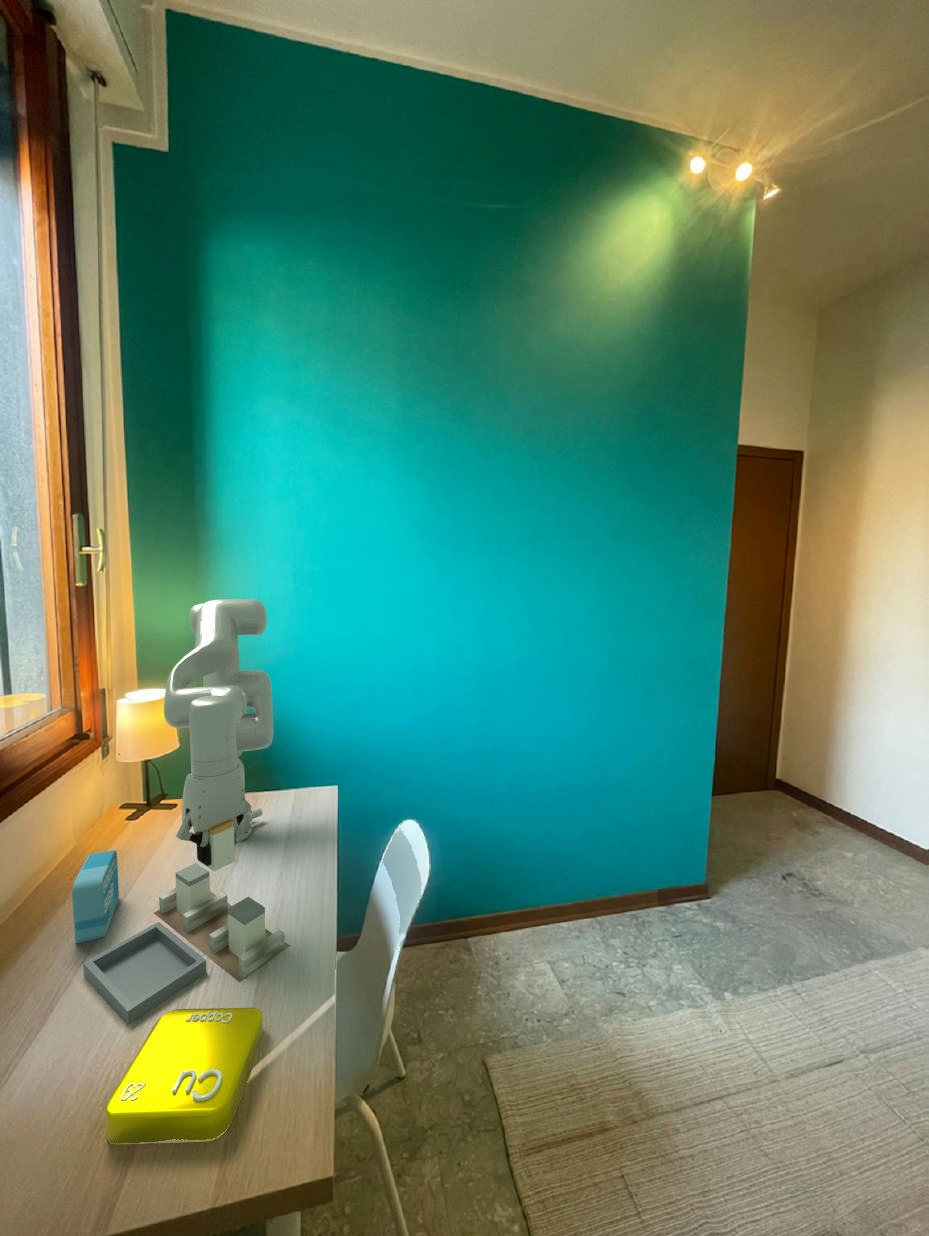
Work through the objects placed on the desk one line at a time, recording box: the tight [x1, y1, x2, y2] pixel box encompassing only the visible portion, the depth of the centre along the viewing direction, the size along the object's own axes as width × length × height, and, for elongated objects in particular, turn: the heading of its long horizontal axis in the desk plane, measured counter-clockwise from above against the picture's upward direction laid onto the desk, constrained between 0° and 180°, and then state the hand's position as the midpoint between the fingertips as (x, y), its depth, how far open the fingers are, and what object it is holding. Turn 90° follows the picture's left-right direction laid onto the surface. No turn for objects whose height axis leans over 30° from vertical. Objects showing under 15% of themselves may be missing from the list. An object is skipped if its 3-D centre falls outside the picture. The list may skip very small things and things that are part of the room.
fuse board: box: [153, 887, 291, 983], centre depth 96 cm, size 10×29×4 cm, turn 56°
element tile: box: [104, 1007, 263, 1144], centre depth 68 cm, size 15×15×5 cm
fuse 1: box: [175, 862, 211, 914], centre depth 100 cm, size 4×5×8 cm
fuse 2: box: [228, 896, 266, 957], centre depth 91 cm, size 4×5×8 cm
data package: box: [71, 849, 120, 944], centre depth 97 cm, size 12×4×12 cm, turn 23°
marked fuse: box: [200, 819, 236, 873], centre depth 94 cm, size 4×5×8 cm
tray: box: [82, 921, 207, 1025], centre depth 85 cm, size 12×16×3 cm
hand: (217, 856), depth 95 cm, fingers closed on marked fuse, 4 cm apart
